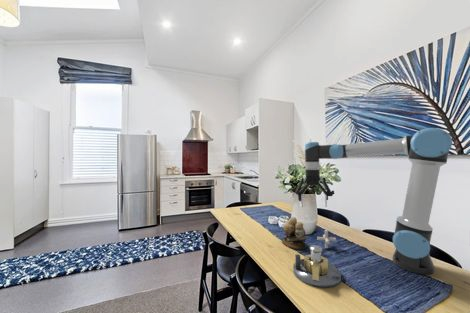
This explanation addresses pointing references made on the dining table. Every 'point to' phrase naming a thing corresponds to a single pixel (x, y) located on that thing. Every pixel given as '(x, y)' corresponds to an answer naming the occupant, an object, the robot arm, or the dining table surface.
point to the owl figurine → (294, 235)
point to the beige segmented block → (316, 266)
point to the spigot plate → (324, 280)
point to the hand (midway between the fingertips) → (313, 206)
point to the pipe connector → (326, 239)
